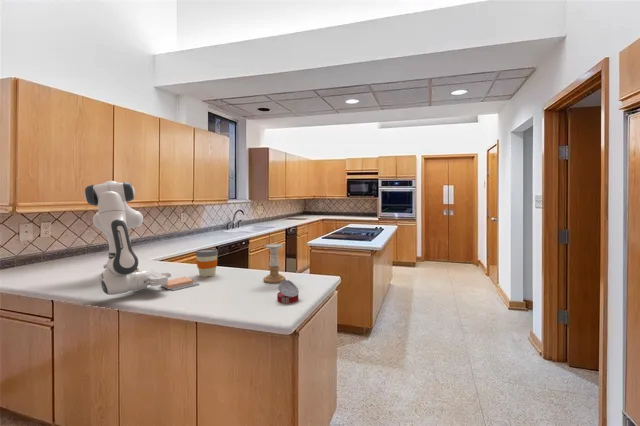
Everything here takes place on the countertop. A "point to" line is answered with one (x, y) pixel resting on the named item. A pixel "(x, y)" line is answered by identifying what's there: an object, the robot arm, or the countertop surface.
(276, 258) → the candle holder
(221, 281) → the countertop surface
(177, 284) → the tile
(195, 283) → the mat
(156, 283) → the robot arm
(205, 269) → the reusable coffee cup
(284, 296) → the canned food
